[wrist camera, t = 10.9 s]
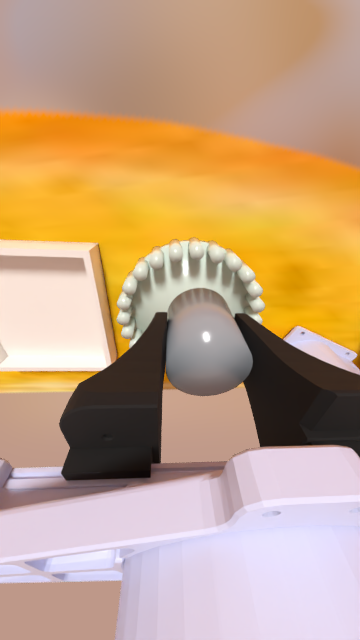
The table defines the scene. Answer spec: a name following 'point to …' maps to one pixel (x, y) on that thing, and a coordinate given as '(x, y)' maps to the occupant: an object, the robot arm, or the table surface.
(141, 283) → the celadon bowl
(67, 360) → the parts tray
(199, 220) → the table surface
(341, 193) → the table surface
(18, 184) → the table surface
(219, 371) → the pebble slate
